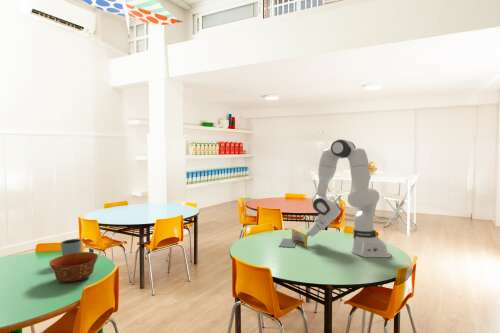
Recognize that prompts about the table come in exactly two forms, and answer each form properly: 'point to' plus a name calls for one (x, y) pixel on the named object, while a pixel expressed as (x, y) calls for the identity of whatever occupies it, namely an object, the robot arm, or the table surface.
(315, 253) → the table surface
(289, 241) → the mat
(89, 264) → the bowl
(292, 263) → the table surface
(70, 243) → the grey cylinder
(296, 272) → the table surface
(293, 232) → the candy box
